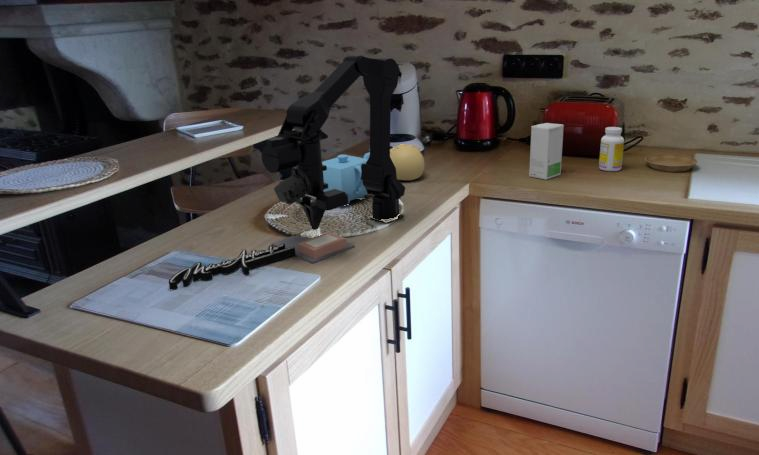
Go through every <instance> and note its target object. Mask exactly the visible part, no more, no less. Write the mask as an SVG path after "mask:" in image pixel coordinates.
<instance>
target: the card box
mask: <svg viewBox="0 0 759 455" xmlns="http://www.w3.org/2000/svg"><path fill="white" fill-rule="evenodd" d="M346 242H347V238H346V237H343V236H340V235H338V234H335V233H333V232H330V231H329V232H326V233H324V234H323V235H320V236H317V237H315V238H312V239H309V240H307V241H304V242H301V243H298V249H299V252H300V253H303V254H305V255H307V256H309V257H312V258H314V259H317V258H319V257H322V256H324V255H327V254H329V253H332V252H334V251H337V250H339V249H342V248H344V247H347V246H346Z"/></svg>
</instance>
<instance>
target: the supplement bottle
mask: <svg viewBox="0 0 759 455" xmlns="http://www.w3.org/2000/svg"><path fill="white" fill-rule="evenodd" d="M604 132H605V134H604V135H603V136H602V137H601V139H600V150H599V158H598V160H599V161H598V168H599V169H600V170H601V171H604V172H618V171H620V170H622V168H623V167H622V166H623V165H622V164H623V157H624V148H625V139H624V137H623V136H622V135H621V134H622V132H623V128H622V127H617V126H607V127H605V130H604Z"/></svg>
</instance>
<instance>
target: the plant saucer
mask: <svg viewBox="0 0 759 455" xmlns="http://www.w3.org/2000/svg"><path fill="white" fill-rule="evenodd" d="M644 161H645V162H646V163H647V164H648V166H650V168H652V169H653V170H656V171H657V170H658V171H661V172H669V173H671V172H672V173H673V172H674V173H675V172H676V173H679V172H685V171H689V170H691V169H692V168H693V167H695V165H697V164H698V160H697V159H696V158H694V157H691V156H687V155H683V154H674V153H657V154H650V155H647V156H645V157H644Z"/></svg>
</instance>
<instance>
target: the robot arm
mask: <svg viewBox="0 0 759 455" xmlns="http://www.w3.org/2000/svg"><path fill="white" fill-rule="evenodd" d="M399 76H400V66H399V64H398V63H397V62H396V60H395V59H394V58H389V57H365V56H364V55H362V54H361V55H359V54H357V55H356V54H350V55H347V56H345V57H344V58H343V60H342V62H341V63H340V64H339V66H337V67H336V68H335V69H334V70H333V72H331V73H330V75H329V76H328V77H326V78H325V79H324V81H323V82H322V83H321V84H319V86H318V87H317V88H316V89H315V90H314V91H312V92H311V93H309V94H307V95H305V96H302V97H300V98H298V99H297V100H296V101H294V102H292V103H291V104H290V105H289V106H288V107H287V109H286V116H285V118H284V120H283V122H282V125H281V128H280V130H279V132H278V135H277V137H276V138H267V139H266V140H265V144H266V145H265V146H264V147H263V149H262V153H261V156H260V157H261V162H262V164H263V167H264V168H265V169H266V171H267V172H269V173H271V174H275V173H278V172H282V171H285V170H288V169H291V176H289V177H287V178H285V179H284V180H282V181H279V183H278V184H277V185H275V186H274V188H273V190H274V192H275V194H276V197H277V199H278V201H279V202H280V203H285V204H287V205H292V204H294V203H295V204H297V205H298V206H300V207H302V209H303V211H304V214H305V216H306V218H307V221H308V222H309V225H310V227H311V229H313V230H316V231H317V230H318V229H319V227H320V224H321V222H322V219H323V217H324V214H325V213H326V211H332V210H335V209H338V208H341V207H345V206H344V205H347V204H348V203H349V202H348V194H346V193H345V192H343V191H340V190H337V189H332V190H329V191H324V189H327V188H328V184H327V183H324V177H323V171H325V170H327V166H326V165H322V162H323V155H322V147H321V146H322V144H321V141H322V140H325V139H328V138H329V135H328V134H327V133H326V132H324V131H323V130H322V128H323V126H324V124H326V122H327V120H328V119H329V116H330V110H331V108H332V107H333V106H334V105H335V103H336V102H337V101H338V100H339V99H340V98H341V97H342V96H343V94H345V92H346V91H348V89H350V87H351V86H352V85H353V84H354V83H355V82H356V81H357V80H358V78H360V77H362V80H363V86H364V88H365V90H366V91H367V94H368V96H369V152H370V157H369V158H368V160H367V162H366V164H362V165H361V172H362V173H361V180H362V182H363V186H365V188H366V191H367V195H372V202H371V208H372V209H371V210H372V215H373V218H375V219H378V220H381V219H389V218H394V217H396V216H397V215H398V214H400V215H399V216H398V219H397V220H399V219H403V218H404V217H405V216H404V214H403V213H400V199H401V198H402V197H403V196H405V191H406V186H404V184H403V183H402V182H401V180H398V179H397V175H396V168H395V166H394V164H393V162H392V160H391V158H390V149H391V112H392V107H391V104H392V100H391V99H392V96H393V94H394V92H395V91H396V89H397V87H398V82H399Z"/></svg>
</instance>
